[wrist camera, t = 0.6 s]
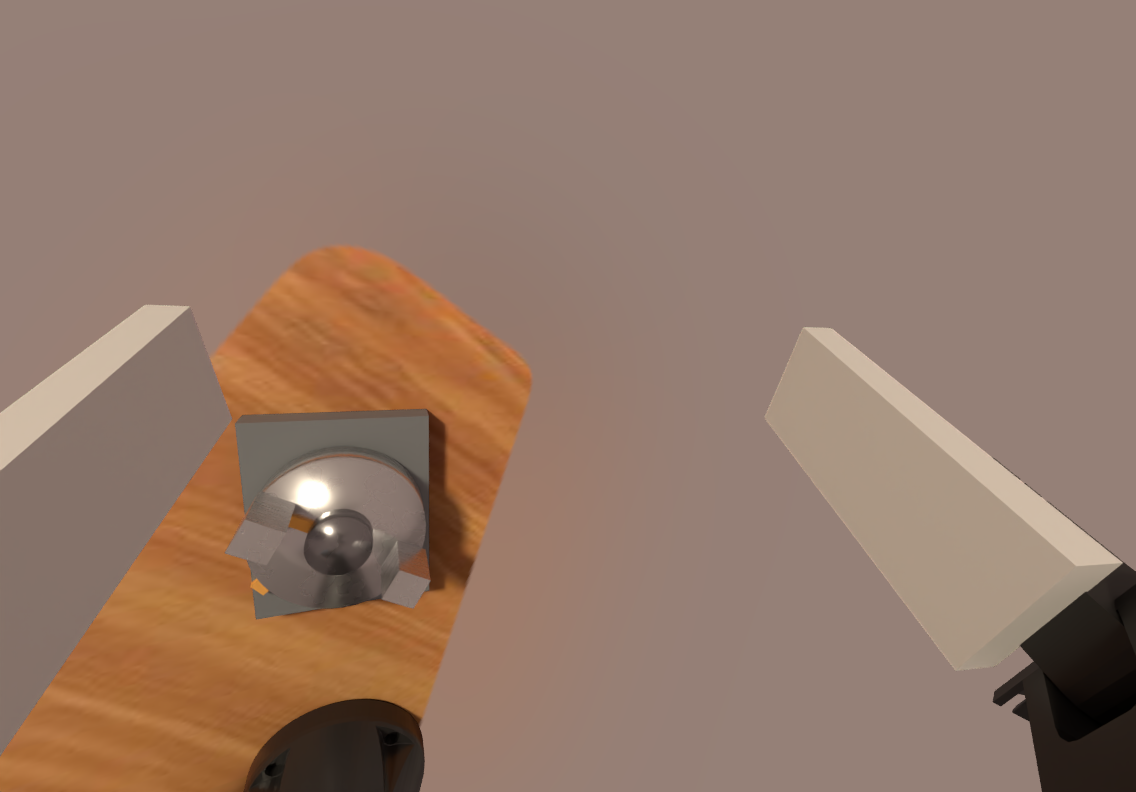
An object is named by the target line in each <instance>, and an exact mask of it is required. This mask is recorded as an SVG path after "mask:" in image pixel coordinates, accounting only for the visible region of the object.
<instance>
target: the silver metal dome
mask: <svg viewBox="0 0 1136 792" xmlns="http://www.w3.org/2000/svg"><path fill="white" fill-rule="evenodd" d="M425 533H426V520H425V513H424V508H423V502H422V498H421V494H420V491H419V488H418V486H417V484H416V482H415V481H414V479H413V477H412V476H411V475H410V474H409V472H408V471H407V470H406V469H405V468H404V467H403V466H402V465H401V464H399V463H398V462H396V461H395V460H394V459H392V458H390V457H388V456H386V455H384V454H383V453H380V452H377V451H374V450H371V449H367V448H362V447H354V446H336V447H328V448H323V449H319V450H315V451H312V452H309V453H307V454H304V455H302V456H300V457H298V458H296V459H294V460H292V461H291V462H289V463H288V464H286V465H285V466H283V467H282V468H281V469H280V470H279V471H277V472H276V473H275V474H274V475H273V476H272V477H271V479H270V480H269V481H268V482H267V484H266V485H265V486H264V488H263V489H262V491H259V492H258V494H257V496H256V497H255V499H254V501H253V502H252V504H251V506H250V507H249V509H248V511H247V512H246V514H245V516H244V517H243V519H242V521H241V523H240V524H239V526H238V528H237V530H236V532H235V534H234V536H233V538H232V540H231V542H230V544H229V546H228V548H227V549H226V551H225V554H229V555H232V556H236V557H239V558H242V559H246V560H247V562H248V565H249V567H250V569H251V571H252V572H253V574H254V576H255V577H256V578H257V579H258V581H259V582H260V583H261V584H262V585H263V586H264V587H265V588H266V589H268V590H269V591H270V592H272V593H273V594H275V595H276V596H278V597H280V598H282V599H284V600H286V601H288V602H291V603H294V604H297V605H301V606H306V607H311V608H340V607H346V606H351V605H356V604H359V603H362V602H365V601H367V600H370V599H372V598H374V597H376V596H378V595H380V594H382V600H386V601H389V602H392V603H396V604H399V605H403V606H406V607H409V608H414V607H415V605H416V604H417V602H418V600H419V599H420V597H421V595H422V594H423V592H424V591H425V589H426V587H427V586H428V584H429V582H430V581H431V579H430V573H429V567H428V561H427V555H426V550H425V549H422V547H423V544H424V539H425Z"/></svg>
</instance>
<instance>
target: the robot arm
mask: <svg viewBox="0 0 1136 792" xmlns="http://www.w3.org/2000/svg"><path fill="white" fill-rule="evenodd" d="M765 419H766V421H767V422H768V424H769V425H770V426H771V427H772V429H773V430H774V431H775V433H776V434H777V435H778V436H779V438H780V439H781V440H782V442H783V443H784V445H785V446H786V447H787V448H788V450H789V451H790V453H791V454H792V455H793V457H794V458H795V459H796V461H797V462H798V463H799V464H800V466H801V467H802V468H803V470H804V471H805V472H806V474H807V475H808V476H809V478H810V479H811V480H812V482H813V483H814V484H815V486H816V487H817V488H818V489H819V491H820V492H821V494H822V495H823V496H824V498H825V499H826V500H827V502H828V503H829V504H830V505H831V507H832V508H833V509H834V511H835V512H836V513H837V515H838V516H839V517H840V518H841V520H842V521H843V523H844V524H845V525H846V527H847V528H848V529H849V531H850V532H851V533H852V534H853V536H854V537H855V539H856V540H857V541H858V542H859V544H860V545H861V546H862V548H863V549H864V550H865V552H866V553H867V554H868V556H869V557H870V558H871V560H872V561H873V562H874V563H875V565H876V566H877V567H878V569H879V570H880V572H881V573H882V574H883V576H884V577H885V578H886V579H887V581H888V582H889V583H890V585H891V586H892V587H893V588H894V590H895V591H896V593H897V594H898V595H899V597H900V598H901V599H902V601H903V602H904V603H905V605H906V606H907V607H908V608H909V610H910V611H911V612H912V614H913V615H914V616H915V618H916V619H917V620H918V622H919V623H920V624H921V626H922V627H923V628H924V630H925V631H926V632H927V634H928V635H929V636H930V638H931V639H932V640H933V642H934V643H935V644H936V646H937V647H938V648H939V650H940V651H941V652H942V654H943V655H944V656H945V657H946V659H947V660H948V661H949V663H950V664H951V665H952V666H953V668H954V669H955V670H956V671H959V670H968V669H976V668H986V667H995V666H996V665H998V664H999V663H1000V662H1001V661H1003V660H1004V659H1005V658H1006V657H1007V656H1009V655H1010V654H1011V653H1012V652H1014V651H1015V650H1016V649H1017V648H1019V647H1020V646H1021V647H1022V648H1023V650H1024V651H1025V652H1026V653H1027V654H1028V655H1029V656H1030V657H1031V659H1033V661H1034V662H1032V663H1031V664H1030V665H1029V666H1027V667H1026V668H1025V669H1023V670H1022V671H1021V672H1019V673H1018V674H1017V675H1015V676H1014V677H1013V678H1012V679H1010V680H1009V681H1008V682H1006V683H1005V684H1004V685H1002V686H1001V687H1000V688H998V689H997V690H996V691H995V692H994V698H993V702H994V703H996V704H998V705H999V706H1002V705H1003V704H1005V703H1006V702H1007V701H1009V700H1010V699H1012V698H1013V697H1014V696H1016V695H1017V694H1022V695H1025V698H1026V699H1025V700H1024V701H1022V702H1021V703H1020V704H1018V705H1017V706H1016V707H1015V708H1014V709H1013V711H1012V712H1013V713H1014V714H1016V715H1018V716H1020V717H1022V718H1024V719H1026V720H1028V721H1030V726H1031V732H1032V737H1033V743H1034V749H1035V755H1036V759H1037V766H1038V771H1039V777H1040V782H1041V788H1042V792H1136V571H1134V570H1133V569H1132V568H1130V567H1129V566H1128V565H1126V564H1125V563H1124V562H1123V561H1121V560H1120V559H1119V558H1118V557H1117V556H1115V555H1114V554H1113V553H1112V552H1110V551H1109V550H1108V549H1106V548H1105V547H1104V546H1103V545H1102V544H1100V543H1099V542H1098V541H1096V540H1095V539H1094V538H1093V537H1092V536H1090V535H1089V534H1088V533H1087V532H1085V531H1084V530H1083V529H1082V528H1080V527H1079V526H1078V525H1077V524H1075V523H1074V522H1073V521H1072V520H1070V519H1069V518H1068V517H1066V516H1065V515H1064V514H1063V513H1062V512H1061V511H1059V510H1058V509H1057V508H1056V507H1054V506H1053V505H1052V504H1051V503H1049V502H1048V501H1045V500H1044V499H1043V498H1042V496H1040V495H1039V494H1038V493H1037V492H1035V491H1034V490H1033V489H1032V488H1031V487H1029V486H1028V485H1027V484H1026V483H1023V482H1022V481H1020V479H1019V478H1018V477H1017V476H1016V475H1014V474H1013V473H1012V472H1011V471H1009V470H1008V469H1007V468H1006V467H1004V466H1003V465H1002V464H1001V463H999V462H998V461H997V460H996V459H994V458H993V457H991V456H990V455H988V454H987V453H986V452H985V451H983V450H982V449H981V448H980V447H978V446H977V445H976V444H975V443H973V442H972V441H971V440H969V439H968V438H967V437H966V436H965V435H963V434H962V433H961V432H960V431H958V430H957V429H956V428H955V427H954V426H952V425H951V424H950V423H949V422H947V421H946V420H945V419H943V418H942V417H941V416H940V415H939V414H937V413H936V412H935V411H934V410H932V409H931V408H930V407H929V406H927V405H926V404H925V403H924V402H922V401H921V400H920V399H919V398H917V397H916V396H915V395H914V394H912V393H911V392H910V391H909V390H908V389H906V388H905V387H904V386H903V385H901V384H900V383H899V382H898V381H896V380H895V379H894V378H893V377H891V376H890V375H889V374H888V373H886V372H885V371H884V370H882V369H881V368H880V367H879V366H878V365H876V364H875V363H874V362H873V361H872V360H870V359H869V358H868V357H866V356H865V355H864V354H863V353H862V352H860V351H859V350H858V349H857V348H855V347H854V346H853V345H852V344H850V343H849V342H848V341H847V340H845V339H844V338H843V337H842V336H840V335H839V334H838V333H837V332H836V331H834V330H833V329H832V328H809V327H803V329H802V331H801V333H800V336H799V338H798V341H797V343H796V345H795V347H794V350H793V352H792V354H791V357H790V359H789V361H788V364H787V366H786V368H785V371H784V373H783V376H782V378H781V380H780V382H779V385H778V387H777V390H776V392H775V394H774V397H773V399H772V401H771V403H770V406H769V408H768V411H767V413H766V415H765ZM231 420H232V417H231V415H230V412H229V409H228V407H227V404H226V401H225V399H224V396H223V393H222V391H221V388H220V385H219V382H218V380H217V377H216V374H215V372H214V369H213V366H212V364H211V361H210V358H209V356H208V353H207V351H206V348H205V345H204V342H203V340H202V337H201V334H200V332H199V329H198V326H197V323H196V321H195V318H194V316H193V313H192V310H191V308H190V306H163V305H144V306H143V307H142V308H140V309H139V310H137V311H136V312H135V313H133V314H132V315H131V316H130V317H128V318H127V319H126V320H124V321H123V322H121V323H120V324H119V325H117V326H116V327H115V328H113V329H112V330H111V331H109V332H108V333H107V334H105V335H104V336H103V337H101V338H100V339H99V340H97V341H96V342H95V343H93V344H92V345H91V346H89V347H88V348H87V349H85V350H84V351H83V352H82V353H80V354H79V355H77V356H76V357H75V358H73V359H72V360H71V361H69V362H68V363H66V364H65V365H64V366H62V367H61V368H60V369H58V370H57V371H56V372H55V373H53V374H52V375H51V376H49V377H48V378H46V379H45V380H44V381H42V382H41V383H40V384H38V385H37V386H36V387H34V388H33V389H32V390H30V391H29V392H28V393H26V394H25V395H24V396H22V397H21V398H20V399H18V400H17V401H16V402H14V403H13V404H12V405H10V406H9V407H8V408H6V409H5V410H4V411H2V412H1V413H0V756H1V754H2V753H3V751H4V750H5V748H6V747H7V745H8V744H9V742H10V741H11V740H12V738H13V737H14V735H15V734H16V732H17V731H18V729H19V728H20V726H21V725H22V724H23V722H24V721H25V719H26V718H27V716H28V715H29V713H30V712H31V710H32V709H33V708H34V706H35V705H36V703H37V702H38V700H39V699H40V697H41V696H42V695H43V693H44V692H45V690H46V689H47V687H48V686H49V684H50V683H51V681H52V680H53V679H54V677H55V676H56V674H57V673H58V671H59V670H60V668H61V667H62V665H63V664H64V663H65V661H66V660H67V658H68V657H69V655H70V654H71V652H72V651H73V649H74V648H75V647H76V645H77V644H78V642H79V641H80V639H81V638H82V636H83V635H84V634H85V632H86V631H87V629H88V628H89V626H90V625H91V623H92V622H93V620H94V619H95V618H96V616H97V615H98V613H99V612H100V610H101V609H102V607H103V606H104V604H105V603H106V602H107V600H108V599H109V597H110V596H111V594H112V593H113V591H114V590H115V588H116V587H117V586H118V584H119V583H120V581H121V580H122V578H123V577H124V575H125V574H126V573H127V571H128V570H129V568H130V567H131V565H132V564H133V562H134V561H135V559H136V558H137V557H138V555H139V554H140V552H141V551H142V549H143V548H144V546H145V545H146V543H147V542H148V541H149V539H150V538H151V536H152V535H153V533H154V532H155V530H156V529H157V527H158V526H159V525H160V523H161V522H162V520H163V519H164V517H165V516H166V514H167V513H168V511H169V510H170V509H171V507H172V506H173V504H174V503H175V501H176V500H177V498H178V497H179V496H180V494H181V493H182V491H183V490H184V488H185V487H186V485H187V484H188V482H189V481H190V480H191V478H192V477H193V475H194V474H195V472H196V471H197V469H198V468H199V466H200V465H201V464H202V462H203V461H204V459H205V458H206V456H207V455H208V453H209V452H210V450H211V449H212V448H213V446H214V445H215V443H216V442H217V440H218V439H219V437H220V436H221V435H222V433H223V432H224V430H225V429H226V427H227V426H228V424H229V423H230V421H231ZM424 762H425V761H424V748H423V738H422V734H421V730H420V728H419V726H418V724H417V723H416V721H415V720H414V719H413V717H412V716H411V715H410V714H408V713H407V712H406V711H404V710H403V709H401V708H399V707H397V706H395V705H393V704H390V703H386V702H382V701H376V700H349V701H343V702H338V703H334V704H330V705H326V706H323V707H320V708H318V709H315V710H313V711H310V712H308V713H306V714H304V715H302V716H300V717H299V718H297V719H295V720H293V721H292V722H290V723H289V724H287V725H286V726H285V727H283V728H282V729H281V730H279V731H278V732H277V733H276V734H275V735H274V736H273V737H272V738H271V739H270V740H269V741H268V742H267V743H266V744H265V745H264V746H263V747H262V749H261V750H260V751H259V753H258V754H257V756H256V757H255V759H254V761H253V763H252V765H251V767H250V770H249V773H248V776H247V780H246V784H245V789H244V792H419V791H420V787H421V783H422V778H423V774H424Z"/></svg>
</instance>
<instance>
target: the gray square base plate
mask: <svg viewBox="0 0 1136 792" xmlns="http://www.w3.org/2000/svg"><path fill="white" fill-rule="evenodd" d="M235 427H236V437H237V446H238V455H239V465H240V474H241V484H242V493H243V502H244V512H245V514H246V512H247V511H248V509H249V507H250V506H251V504H252V502H253V501H254V499H255V497H256V496H257V494H258V492H259V491H262V489H263V488H264V486H265V485H266V484H267V482H268V481H269V480H270V479H271V477H272V476H273V475H274V474H275V473H276V472H277V471H279V470H280V469H281V468H282V467H283V466H285V465H286V464H288V463H289V462H291V461H292V460H294V459H296V458H298V457H300V456H302V455H304V454H307V453H309V452H312V451H315V450H319V449H323V448H328V447H336V446H354V447H362V448H367V449H371V450H374V451H377V452H380V453H383V454H384V455H386V456H388V457H390V458H392V459H394V460H395V461H396V462H398V463H399V464H401V465H402V466H403V467H404V468H405V469H406V470H407V471H408V472H409V474H410V475H411V476H412V477H413V479H414V481H415V482H416V484H417V486H418V488H419V491H420V494H421V498H422V502H423V508H424V513H425V520H426V533H425V539H424V544H423V547H422V549H425V550H426V555H427V561H428V567H429V415H428V412H427V409H411V410H381V411H351V412H322V413H292V414H263V415H242V416H241V417H240V418H239V420H238V421H237V422H236V423H235ZM251 578H252V583H251V586H250V587H251V588H253V597H254V606H255V616H256V619H261V618H267V617H273V616H279V615H286V614H292V613H298V612H304V611H310V610H316V609H322V608H311V607H306V606H301V605H297V604H294V603H291V602H288V601H286V600H284V599H282V598H280V597H278V596H276V595H275V594H273V593H272V592H270V591H269V590H268V589H266V588H265V587H264V586H263V585H262V584H261V583H260V582H259V581H258V579H257V578H256V577H255V576H254V574H253V572H252V571H251ZM425 591H429V584H428V586H427V587H426V589H425ZM376 599H382V594H380V595H378V596H376V597H374V598H372V599H370V600H376ZM370 600H367V601H370Z"/></svg>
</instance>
